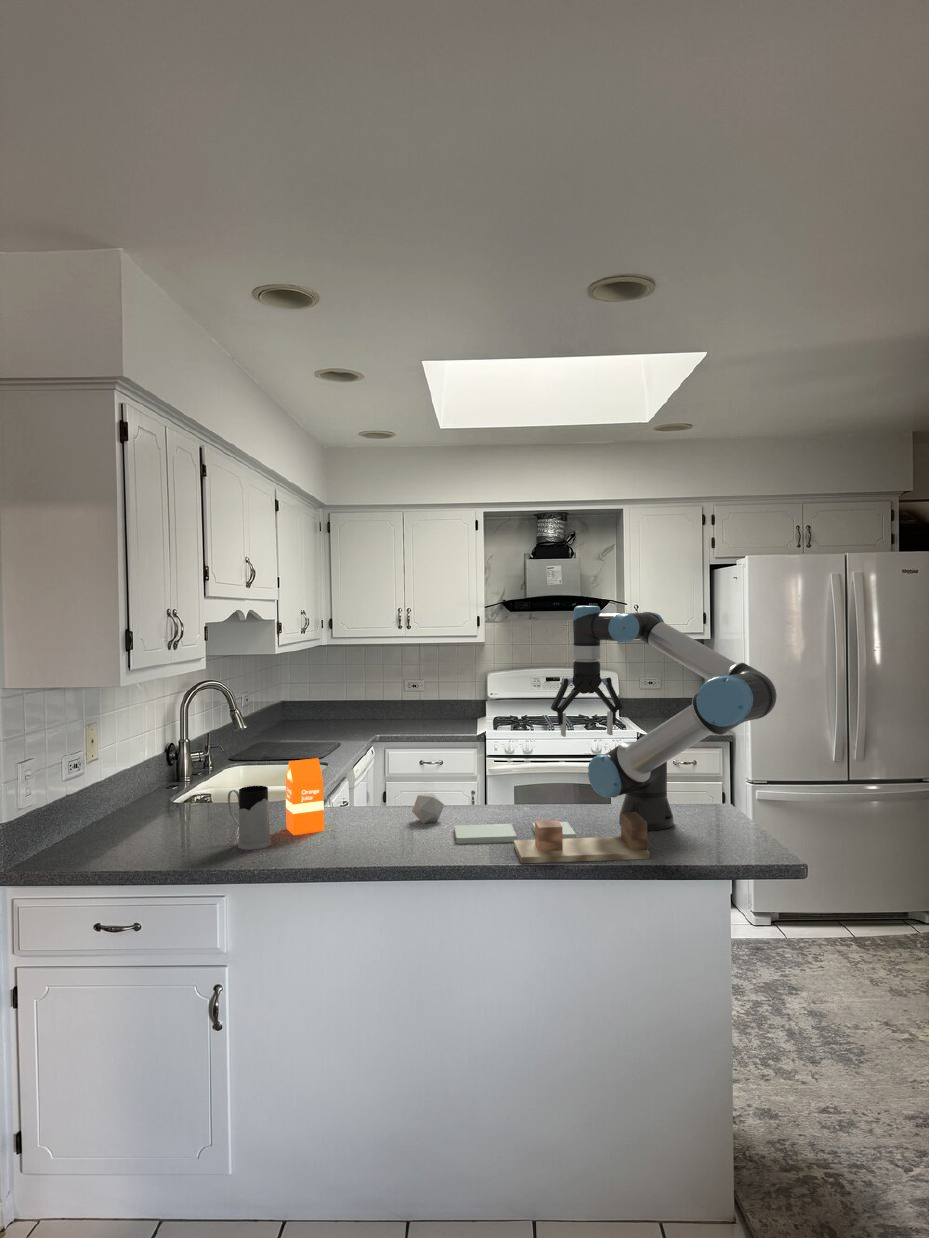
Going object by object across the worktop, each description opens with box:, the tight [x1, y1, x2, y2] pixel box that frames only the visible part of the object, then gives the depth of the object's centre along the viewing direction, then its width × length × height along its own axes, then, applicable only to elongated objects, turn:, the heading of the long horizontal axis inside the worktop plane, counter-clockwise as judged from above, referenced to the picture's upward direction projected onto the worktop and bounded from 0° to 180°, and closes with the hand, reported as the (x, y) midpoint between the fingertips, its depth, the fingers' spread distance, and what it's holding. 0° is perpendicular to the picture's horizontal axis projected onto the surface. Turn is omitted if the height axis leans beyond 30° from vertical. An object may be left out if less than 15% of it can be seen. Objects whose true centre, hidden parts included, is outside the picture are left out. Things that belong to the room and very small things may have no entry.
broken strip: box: [453, 821, 577, 845], centre depth 224 cm, size 32×12×2 cm, turn 94°
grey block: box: [411, 792, 445, 824], centre depth 239 cm, size 8×9×10 cm
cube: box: [534, 819, 563, 851], centre depth 207 cm, size 6×6×6 cm
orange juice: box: [285, 757, 325, 836], centre depth 231 cm, size 8×9×20 cm
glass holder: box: [227, 785, 272, 851], centre depth 220 cm, size 9×14×15 cm, turn 57°
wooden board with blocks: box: [513, 812, 651, 864], centre depth 208 cm, size 32×14×8 cm, turn 94°
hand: (586, 735), depth 232 cm, fingers open, 13 cm apart
